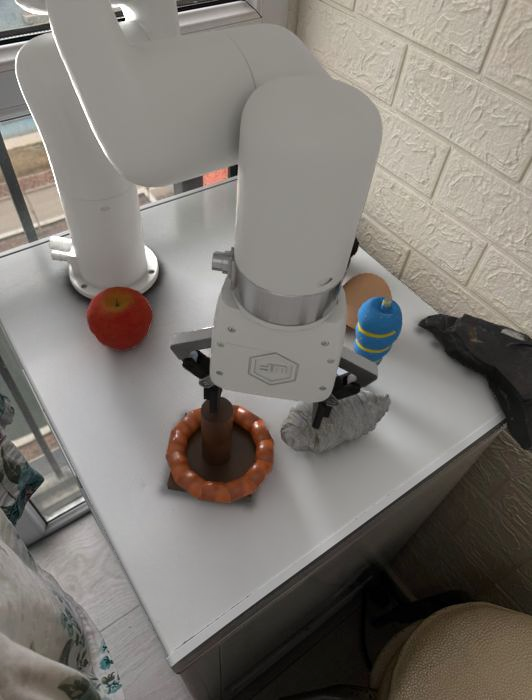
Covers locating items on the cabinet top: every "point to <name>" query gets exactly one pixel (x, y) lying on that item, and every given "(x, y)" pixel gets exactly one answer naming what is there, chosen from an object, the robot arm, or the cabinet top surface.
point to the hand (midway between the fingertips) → (265, 408)
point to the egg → (363, 293)
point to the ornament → (377, 328)
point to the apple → (119, 317)
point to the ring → (220, 489)
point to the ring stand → (218, 448)
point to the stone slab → (493, 364)
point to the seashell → (334, 422)
